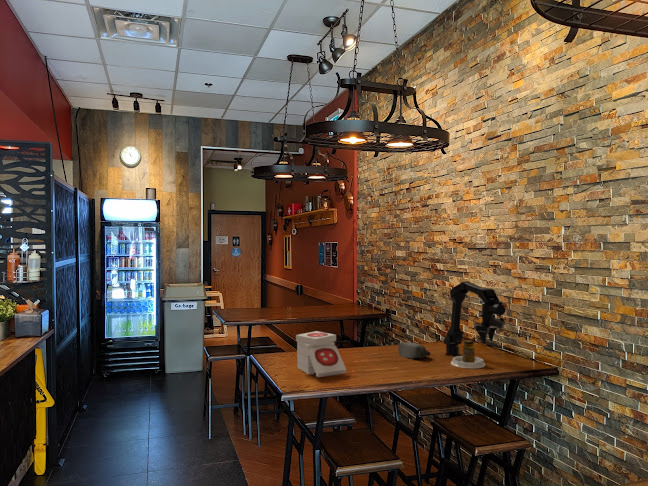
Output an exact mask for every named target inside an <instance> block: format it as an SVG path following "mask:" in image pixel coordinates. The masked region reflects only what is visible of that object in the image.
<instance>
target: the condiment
mask: <svg viewBox="0 0 648 486" xmlns="http://www.w3.org/2000/svg"><path fill="white" fill-rule="evenodd" d="M475 350H476V349H475V341H474V340H470V339H468V340H467V339H465V340H463V345H462V356H463V362H466V363H474V362H475V357H476V356H475V355H476V354H475V353H476V352H475Z"/></svg>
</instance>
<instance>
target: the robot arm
mask: <svg viewBox="0 0 648 486" xmlns="http://www.w3.org/2000/svg"><path fill="white" fill-rule="evenodd" d="M449 291H450V292H449V297H450V298H449V299H450V300H451V302H452V307H451V319H450V320H451V321H450V326H449V329H447V331H446V332H447V333H446V336H445V337H444V339H443V344H444V345H445V346H446V347H445V349H446V351H445V352H446V353H445V354H444V355H446V356H452V357H457V356H460V355H461V354H460V346H459V345H461V344H462V341H463V337H464V332H463V331H462V329H461V316H462V315H461V314H462V304H463V302H464V301H465V299H466V295H467V294H468V293H469V292H470V293H473V294H475V295H477V297H478V298H479V299H481V300H479V304H481V314H480V317H481V322H480V323H479V324H477V325H476V326H475V327H474V328H475V329H474V330H475V332H476V333H477V334H478V336H479V338H480V340H481V342H482V344H483V345H486V344H487V343H486V342H487V336H488V338H489V341H490V342H493V340H494V337H495V333H496V331H498V329H500V330H502V329H503V328H504V326H505V325H506V320H505V318H504V317H500V318H497V317H496V315H497V316H503V315H505V313H506V310H507V309H506V307H505V305H504V304H503V302H502V301H500V299H499V297H498V295H497V293H496V291H495V289H494V288H491V287H482V286H479V285H477V284H474V283H472V282H471V281H466V280H465V281H461V282H460V283H458V284H457V285H454V286H453V287H452V288H450V290H449Z"/></svg>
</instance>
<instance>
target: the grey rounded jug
mask: <svg viewBox="0 0 648 486" xmlns="http://www.w3.org/2000/svg"><path fill="white" fill-rule="evenodd" d="M397 350H398V354H399V356H400V357H402V358H405V359H410V360H414V359H424V358H425V357H426V356H427V357H429V356H430V355H431V352H430V351H429V350H427V349H426V347H425V346H424V345H422V344H419V343H416V342H410V341H405V342H399V344H398V348H397Z"/></svg>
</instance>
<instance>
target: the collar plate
mask: <svg viewBox="0 0 648 486" xmlns="http://www.w3.org/2000/svg"><path fill="white" fill-rule="evenodd" d="M484 361H485V360H484V359H483V358H481V357H478V356H475V362H474V363H466V362H463V355H457V356H453V357H452V360H451V361H450V364H451V366H454V367H456V368H461V369H475V370H476V369H482V368H485V367H486V366H487V365H486V363H485V362H484Z"/></svg>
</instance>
